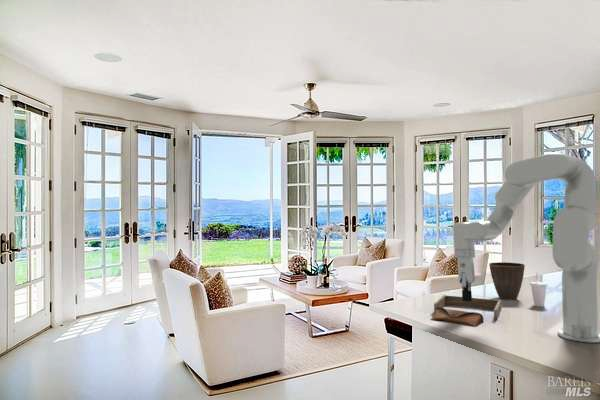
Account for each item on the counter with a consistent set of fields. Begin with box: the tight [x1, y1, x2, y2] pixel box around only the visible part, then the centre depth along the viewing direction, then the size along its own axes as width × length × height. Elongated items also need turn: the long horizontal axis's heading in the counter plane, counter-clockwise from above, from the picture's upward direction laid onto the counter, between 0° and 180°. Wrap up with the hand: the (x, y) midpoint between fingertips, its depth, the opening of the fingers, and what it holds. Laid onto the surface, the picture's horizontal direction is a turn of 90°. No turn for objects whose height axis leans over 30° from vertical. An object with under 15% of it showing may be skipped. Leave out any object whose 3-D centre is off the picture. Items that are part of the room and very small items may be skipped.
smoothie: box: [530, 272, 548, 307], centre depth 182 cm, size 6×6×14 cm
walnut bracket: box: [433, 294, 502, 322], centre depth 173 cm, size 19×23×4 cm
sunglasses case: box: [429, 307, 484, 328], centre depth 159 cm, size 18×7×7 cm
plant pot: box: [488, 261, 526, 301], centre depth 198 cm, size 15×15×16 cm
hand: (467, 300), depth 165 cm, fingers closed
